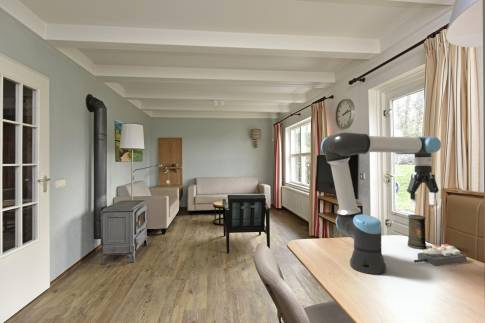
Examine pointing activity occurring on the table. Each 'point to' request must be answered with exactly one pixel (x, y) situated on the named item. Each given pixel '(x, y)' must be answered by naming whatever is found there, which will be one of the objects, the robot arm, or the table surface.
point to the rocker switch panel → (440, 259)
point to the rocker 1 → (432, 251)
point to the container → (416, 232)
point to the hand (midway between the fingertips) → (423, 205)
